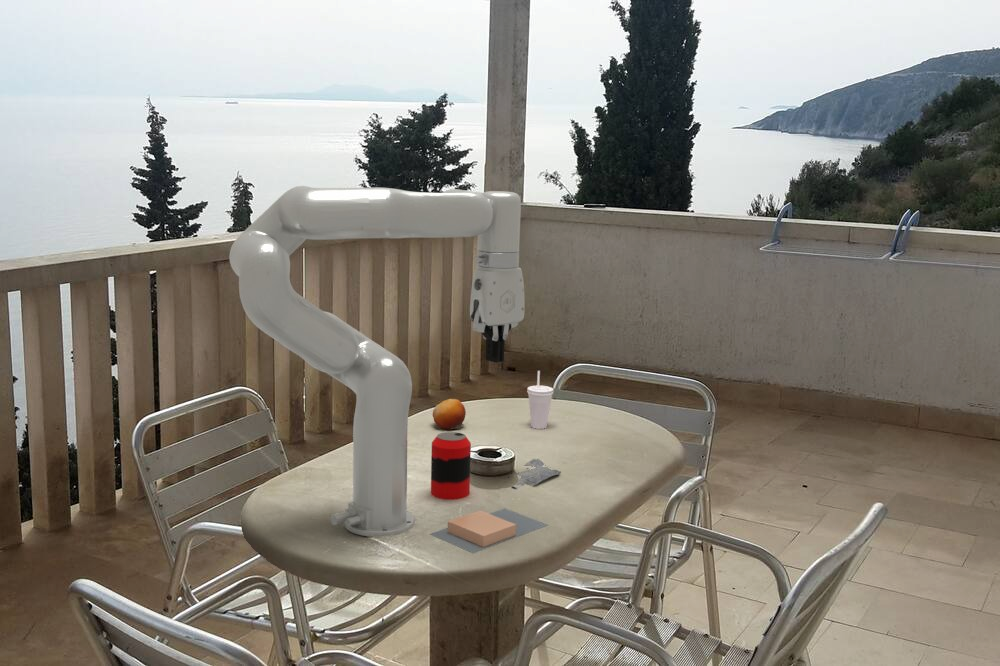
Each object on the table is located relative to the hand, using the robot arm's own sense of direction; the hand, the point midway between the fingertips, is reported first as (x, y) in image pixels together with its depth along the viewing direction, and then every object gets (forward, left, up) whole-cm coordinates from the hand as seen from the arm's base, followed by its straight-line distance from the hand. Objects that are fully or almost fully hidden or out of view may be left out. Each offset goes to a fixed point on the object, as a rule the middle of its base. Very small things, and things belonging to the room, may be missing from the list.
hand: (494, 360), depth 184 cm
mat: (-7, -7, -29) cm, 31 cm away
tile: (-6, -8, -27) cm, 29 cm away
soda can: (0, +11, -29) cm, 31 cm away
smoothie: (+49, +32, -29) cm, 66 cm away
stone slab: (+20, +9, -30) cm, 37 cm away
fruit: (+32, +46, -29) cm, 63 cm away
